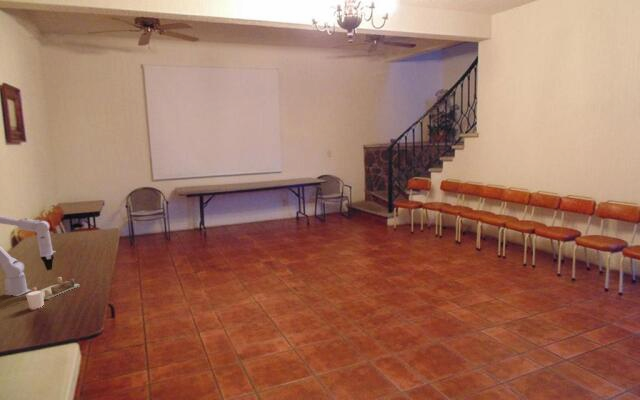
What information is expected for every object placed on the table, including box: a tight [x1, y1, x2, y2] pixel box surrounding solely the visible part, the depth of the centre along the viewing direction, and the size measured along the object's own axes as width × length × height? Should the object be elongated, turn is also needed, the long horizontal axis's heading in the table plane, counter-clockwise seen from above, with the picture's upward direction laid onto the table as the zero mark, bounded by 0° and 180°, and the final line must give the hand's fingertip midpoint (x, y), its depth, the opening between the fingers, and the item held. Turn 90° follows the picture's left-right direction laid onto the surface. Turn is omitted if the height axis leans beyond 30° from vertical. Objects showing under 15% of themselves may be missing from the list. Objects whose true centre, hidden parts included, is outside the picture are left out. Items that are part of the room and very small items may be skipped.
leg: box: [51, 278, 76, 294], centre depth 225 cm, size 12×3×3 cm, turn 160°
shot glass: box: [25, 289, 45, 310], centre depth 207 cm, size 7×7×7 cm
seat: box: [30, 276, 81, 300], centre depth 226 cm, size 14×18×4 cm
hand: (49, 269), depth 231 cm, fingers closed
